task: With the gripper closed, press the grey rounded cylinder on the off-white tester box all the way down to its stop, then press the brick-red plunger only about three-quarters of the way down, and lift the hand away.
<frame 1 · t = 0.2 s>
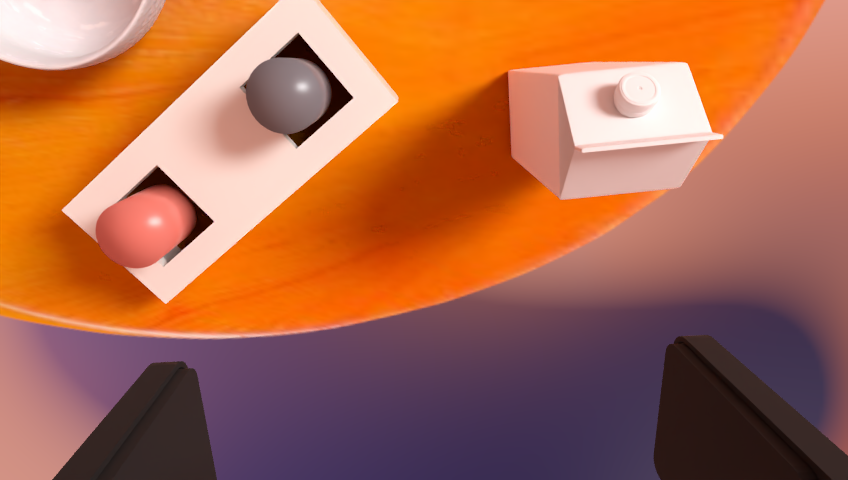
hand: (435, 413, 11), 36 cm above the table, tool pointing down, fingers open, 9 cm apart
milk carton: (550, 110, 45), on the table
tester box: (248, 144, 45), on the table
red plunger: (149, 224, 38), point 8 cm above the table, slide at 0.0 cm
grey rounded cylinder: (292, 94, 36), point 8 cm above the table, slide at 0.0 cm
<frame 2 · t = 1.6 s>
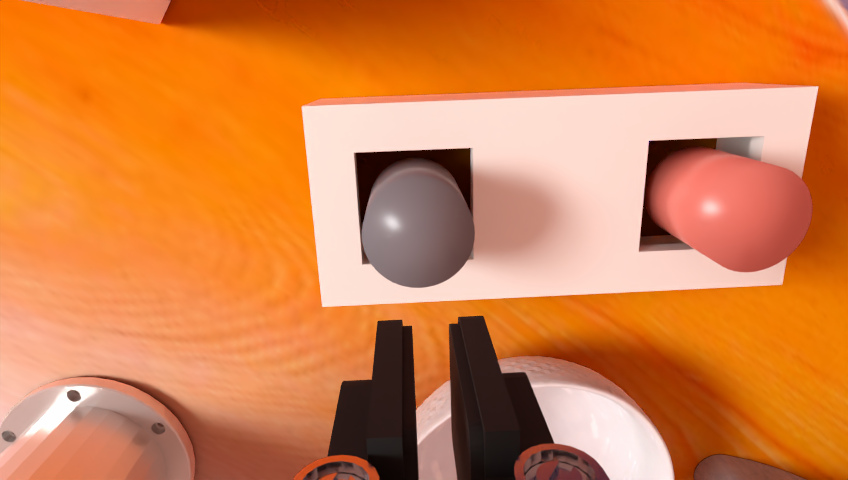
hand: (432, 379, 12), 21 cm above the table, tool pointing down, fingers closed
tester box: (530, 177, 32), on the table
red plunger: (719, 204, 25), point 8 cm above the table, slide at 0.0 cm
grey rounded cylinder: (416, 217, 25), point 8 cm above the table, slide at 0.0 cm
cereal bowl: (509, 430, 38), on the table
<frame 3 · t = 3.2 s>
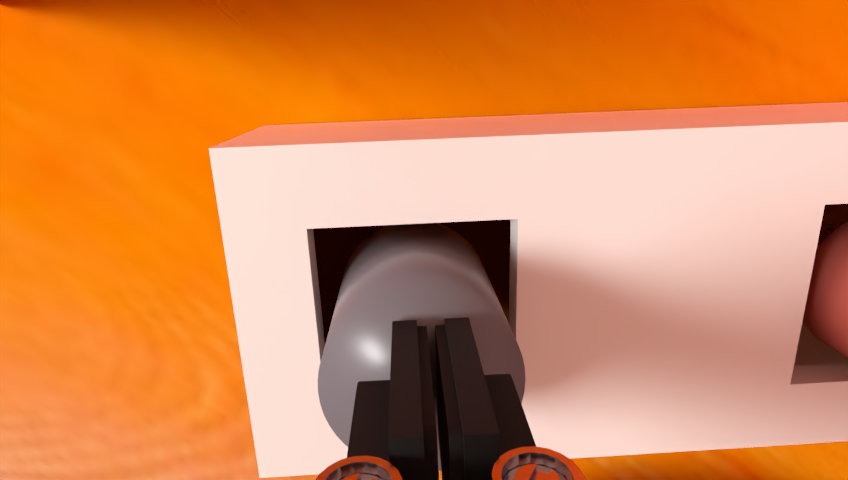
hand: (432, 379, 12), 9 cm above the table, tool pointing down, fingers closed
tester box: (590, 243, 21), on the table
grey rounded cylinder: (417, 329, 15), point 7 cm above the table, slide at 1.2 cm, touching gripper
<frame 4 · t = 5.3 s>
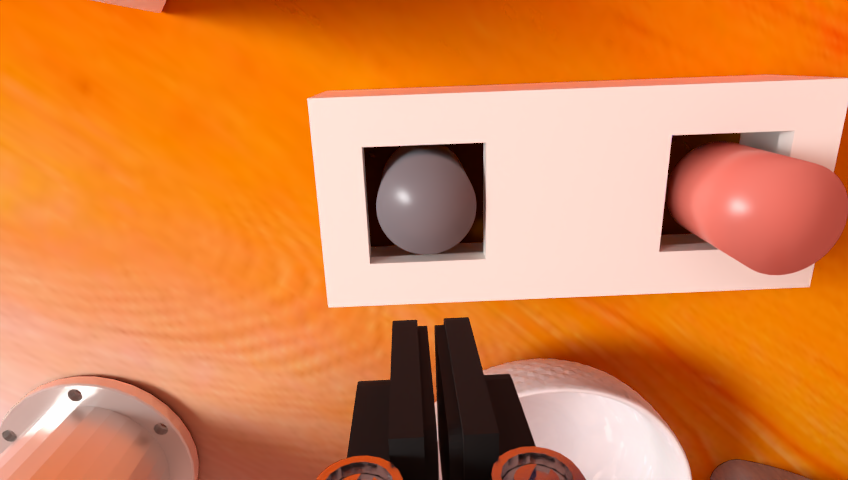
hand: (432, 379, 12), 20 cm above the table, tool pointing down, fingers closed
tester box: (545, 173, 31), on the table
red plunger: (746, 202, 24), point 8 cm above the table, slide at 0.0 cm
grey rounded cylinder: (424, 193, 27), point 4 cm above the table, slide at 4.1 cm
cereal bowl: (519, 433, 37), on the table
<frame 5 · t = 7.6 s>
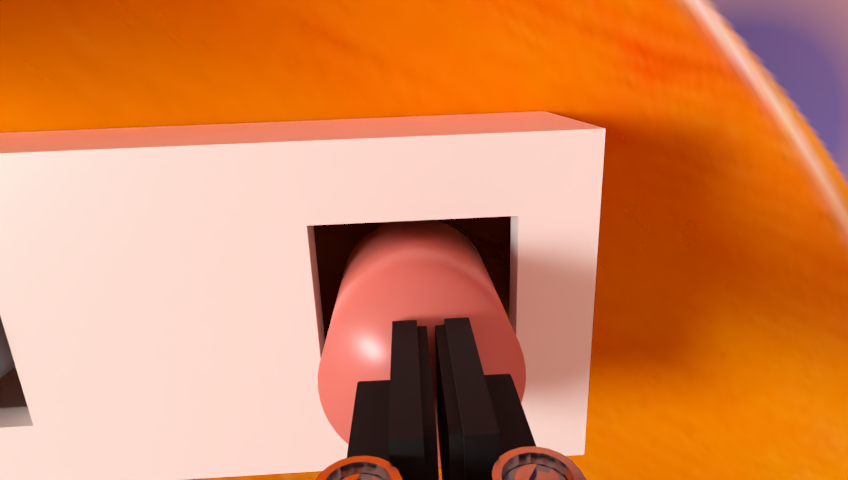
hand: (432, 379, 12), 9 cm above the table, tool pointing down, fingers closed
tester box: (228, 257, 21), on the table
red plunger: (418, 326, 15), point 7 cm above the table, slide at 1.2 cm, touching gripper
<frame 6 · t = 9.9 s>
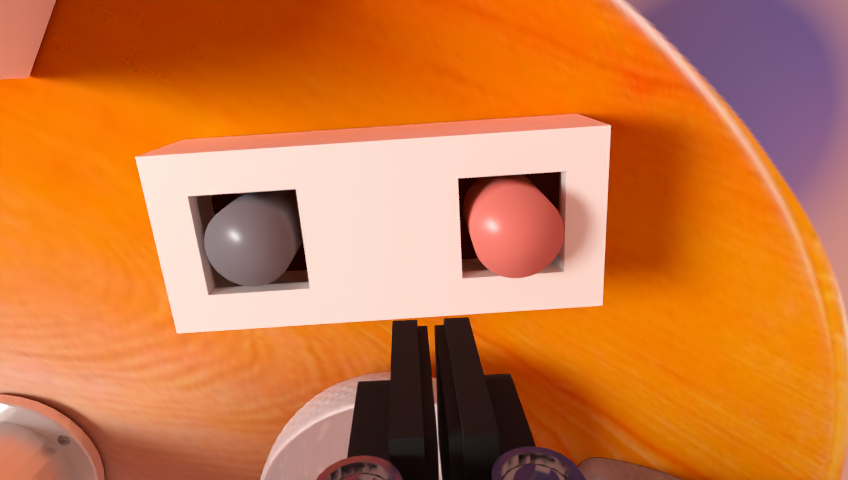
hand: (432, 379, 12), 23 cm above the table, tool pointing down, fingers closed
tester box: (386, 205, 34), on the table
red plunger: (509, 220, 30), point 5 cm above the table, slide at 2.9 cm
grey rounded cylinder: (262, 230, 31), point 4 cm above the table, slide at 4.1 cm
cereal bowl: (394, 437, 40), on the table
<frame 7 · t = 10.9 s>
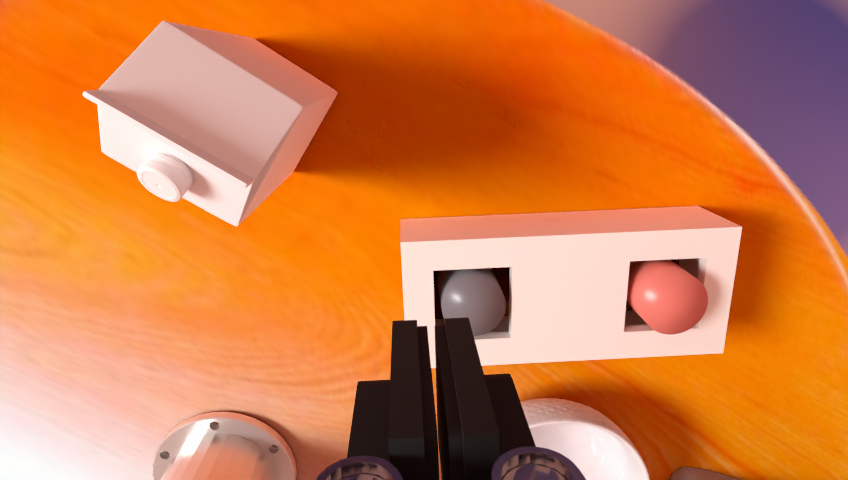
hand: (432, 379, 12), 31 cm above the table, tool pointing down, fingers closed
milk carton: (274, 107, 40), on the table
tester box: (548, 270, 45), on the table
red plunger: (657, 289, 40), point 5 cm above the table, slide at 2.9 cm
grey rounded cylinder: (469, 292, 41), point 4 cm above the table, slide at 4.1 cm
cereal bowl: (529, 449, 51), on the table
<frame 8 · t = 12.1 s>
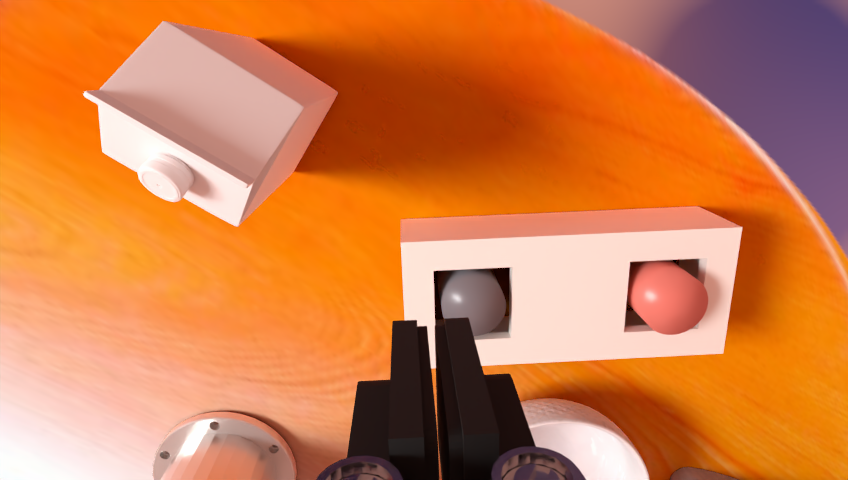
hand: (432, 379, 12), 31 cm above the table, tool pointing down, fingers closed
milk carton: (274, 107, 40), on the table
tester box: (548, 270, 45), on the table
red plunger: (657, 289, 40), point 5 cm above the table, slide at 2.9 cm
grey rounded cylinder: (469, 292, 41), point 4 cm above the table, slide at 4.1 cm
cereal bowl: (529, 449, 51), on the table
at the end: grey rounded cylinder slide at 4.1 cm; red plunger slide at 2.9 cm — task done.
